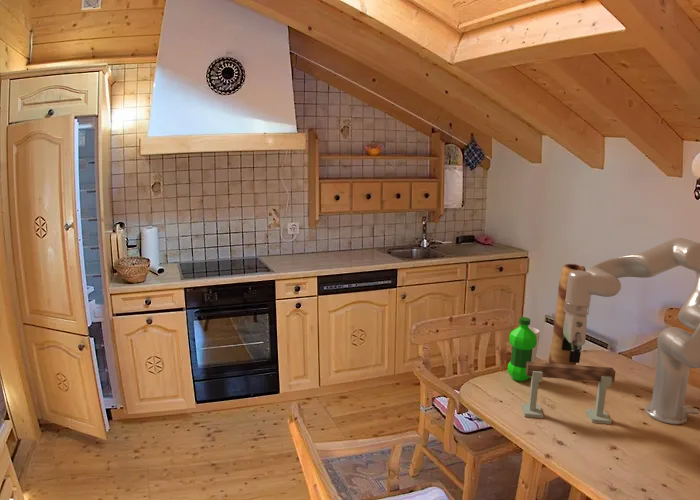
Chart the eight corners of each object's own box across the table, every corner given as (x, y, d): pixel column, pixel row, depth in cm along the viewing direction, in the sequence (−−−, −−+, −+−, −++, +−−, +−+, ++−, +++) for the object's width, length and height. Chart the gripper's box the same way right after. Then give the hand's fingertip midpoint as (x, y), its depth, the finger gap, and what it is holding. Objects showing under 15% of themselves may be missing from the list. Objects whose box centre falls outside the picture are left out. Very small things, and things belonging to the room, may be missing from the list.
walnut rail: (611, 378, 176) (612, 367, 175) (614, 382, 173) (615, 371, 173) (525, 372, 180) (526, 361, 179) (527, 376, 177) (528, 365, 176)
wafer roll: (577, 371, 213) (590, 265, 204) (573, 381, 205) (585, 271, 195) (551, 365, 219) (562, 261, 209) (545, 374, 210) (556, 267, 200)
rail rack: (604, 413, 181) (609, 369, 178) (610, 424, 175) (617, 378, 171) (521, 406, 185) (525, 363, 182) (524, 416, 179) (528, 372, 175)
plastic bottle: (537, 384, 202) (543, 323, 196) (510, 384, 202) (515, 323, 196) (528, 372, 212) (533, 314, 206) (502, 372, 211) (507, 314, 206)
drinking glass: (537, 367, 216) (540, 333, 213) (520, 365, 218) (523, 332, 214) (535, 360, 223) (538, 327, 220) (518, 359, 224) (521, 326, 221)
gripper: (596, 317, 162) (589, 368, 166) (581, 300, 179) (574, 347, 183) (571, 315, 163) (564, 366, 167) (558, 299, 180) (552, 345, 184)
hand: (570, 356), depth 175 cm, fingers open, 9 cm apart
